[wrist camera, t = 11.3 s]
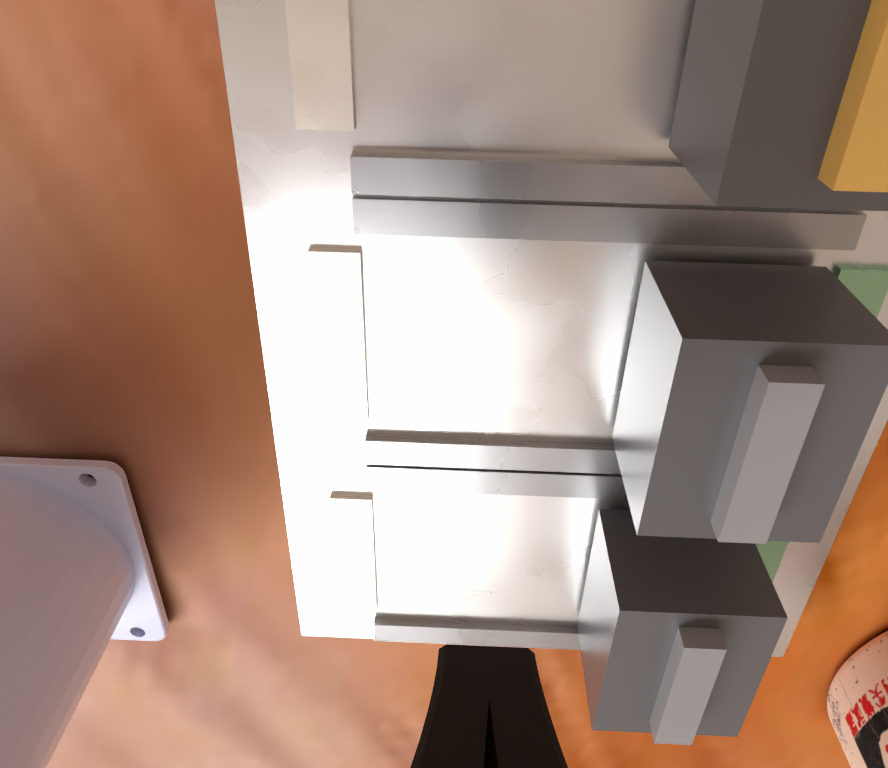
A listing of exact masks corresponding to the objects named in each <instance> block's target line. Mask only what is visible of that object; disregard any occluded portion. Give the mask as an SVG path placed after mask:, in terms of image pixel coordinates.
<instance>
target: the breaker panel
mask: <svg viewBox="0 0 888 768" xmlns="http://www.w3.org/2000/svg"><path fill="white" fill-rule="evenodd" d="M695 2H696V0H215V7H216V14H217V22H218V29H219V36H220V44H221V51H222V58H223V66H224V73H225V80H226V87H227V95H228V102H229V109H230V117H231V124H232V131H233V139H234V146H235V153H236V161H237V168H238V175H239V182H240V190H241V197H242V204H243V212H244V219H245V226H246V234H247V241H248V248H249V255H250V263H251V270H252V277H253V285H254V292H255V299H256V307H257V314H258V321H259V329H260V336H261V343H262V350H263V358H264V365H265V372H266V380H267V387H268V394H269V402H270V409H271V416H272V423H273V431H274V438H275V445H276V453H277V460H278V467H279V475H280V482H281V489H282V496H283V504H284V511H285V518H286V526H287V533H288V540H289V548H290V555H291V562H292V570H293V577H294V584H295V591H296V599H297V606H298V613H299V621H300V628H301V635H302V636H320V637H342V638H365V639H375V641H390V642H413V643H435V644H458V645H481V646H503V647H526V648H549V649H571V650H581V649H580V642H579V635H578V628H577V624H578V619H579V613H580V608H581V603H582V597H583V592H584V587H585V581H586V576H587V570H588V565H589V560H590V554H591V549H592V544H593V538H594V533H595V527H596V522H597V517H598V511H599V509H604V510H628V511H630V507H629V503H628V499H627V495H626V491H625V487H624V483H623V479H622V475H621V471H620V468H619V464H618V460H617V456H616V452H615V448H614V444H613V440H612V436H613V431H614V425H615V420H616V414H617V409H618V404H619V398H620V393H621V388H622V382H623V377H624V371H625V366H626V361H627V355H628V350H629V345H630V339H631V334H632V328H633V323H634V318H635V312H636V307H637V301H638V296H639V291H640V285H641V280H642V275H643V269H644V264H645V261H673V262H703V263H733V264H763V265H793V266H823V267H827V268H828V269H829V270H830V271H831V272H832V273H833V274H834V275H835V276H836V277H837V278H838V279H839V280H840V281H841V282H842V283H843V284H844V285H845V286H846V287H847V288H848V290H849V291H850V292H851V293H852V294H853V295H854V296H855V297H856V298H857V299H858V300H859V301H860V302H861V303H862V304H863V305H864V306H865V307H866V308H867V309H868V310H869V311H870V312H871V313H872V314H873V315H874V316H875V317H876V318H877V319H878V320H879V321H880V322H881V323H882V324H883V325H884V326H885V327H886V328H887V330H888V211H863V210H831V209H800V208H768V207H737V206H715V204H714V203H713V202H712V201H711V199H710V198H709V197H708V196H707V194H706V193H705V192H704V191H703V189H702V188H701V187H700V186H699V184H698V183H697V182H696V181H695V180H694V178H693V177H692V176H691V175H690V173H689V172H688V171H687V170H686V168H685V167H684V166H683V165H682V163H681V162H680V161H679V160H678V158H677V157H676V156H675V155H674V153H673V152H672V151H671V150H670V148H669V147H668V146H669V140H670V135H671V130H672V124H673V119H674V114H675V108H676V103H677V98H678V92H679V87H680V82H681V76H682V71H683V66H684V60H685V55H686V50H687V44H688V39H689V34H690V28H691V23H692V18H693V12H694V7H695ZM887 420H888V385H887V387H886V389H885V392H884V394H883V396H882V399H881V401H880V404H879V406H878V408H877V411H876V413H875V415H874V418H873V420H872V422H871V425H870V427H869V429H868V432H867V434H866V436H865V439H864V441H863V443H862V446H861V448H860V450H859V453H858V455H857V457H856V460H855V462H854V464H853V467H852V469H851V471H850V474H849V476H848V478H847V481H846V483H845V485H844V488H843V490H842V492H841V495H840V497H839V499H838V502H837V504H836V506H835V509H834V511H833V513H832V516H831V518H830V520H829V523H828V525H827V527H826V530H825V532H824V535H823V537H822V539H821V542H820V543H808V542H784V541H767V543H766V544H756V546H757V549H758V551H759V553H760V555H761V558H762V560H763V562H764V565H765V567H766V569H767V571H768V574H769V576H770V578H771V581H772V583H773V585H774V587H775V590H776V592H777V594H778V596H779V599H780V601H781V603H782V606H783V608H784V610H785V612H786V615H787V617H788V619H787V621H786V623H785V626H784V628H783V630H782V633H781V635H780V637H779V640H778V642H777V644H776V647H775V649H774V651H773V654H772V656H774V657H783V655H784V653H785V651H786V649H787V646H788V644H789V642H790V640H791V637H792V635H793V633H794V630H795V628H796V626H797V624H798V621H799V619H800V617H801V615H802V612H803V610H804V608H805V606H806V603H807V601H808V599H809V597H810V594H811V592H812V590H813V587H814V585H815V583H816V581H817V578H818V576H819V574H820V572H821V569H822V567H823V565H824V563H825V560H826V558H827V556H828V553H829V551H830V549H831V547H832V544H833V542H834V540H835V538H836V535H837V533H838V531H839V529H840V526H841V524H842V522H843V520H844V517H845V515H846V513H847V510H848V508H849V506H850V504H851V501H852V499H853V497H854V495H855V492H856V490H857V488H858V486H859V483H860V481H861V479H862V476H863V474H864V472H865V470H866V467H867V465H868V463H869V461H870V458H871V456H872V454H873V452H874V449H875V447H876V445H877V443H878V440H879V438H880V436H881V433H882V431H883V429H884V427H885V424H886V422H887Z"/></svg>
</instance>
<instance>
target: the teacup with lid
mask: <svg viewBox="0 0 888 768" xmlns="http://www.w3.org/2000/svg"><path fill="white" fill-rule="evenodd" d="M827 710H828V714H829V718H830V721H831V723H832V725H833V728H834V730H835V732H836V734H837V737H838V739H839V741H840V744H841V746H842V748H843V751H844V753H845V755H846V757H847V760H848V762H849V764H850V767H851V768H888V631H886V632H884V633H882V634H880V635H879V636H877V637H875V638H874V639H872V640H871V641H869V642H868V643H866V644H865V645H863V646H862V647H861V648H859V649H858V650H857V651H856V652H855V653H854V654H852V655H851V656H850V657H849V658H848V659H847V660H846V661H845V662H844V664H843V665H842V666H841V667H840V669H839V670H838V671H837V673H836V675H835V676H834V678H833V680H832V683H831V685H830V688H829V691H828V696H827Z"/></svg>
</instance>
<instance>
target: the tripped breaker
mask: <svg viewBox="0 0 888 768" xmlns="http://www.w3.org/2000/svg"><path fill="white" fill-rule="evenodd" d="M668 147H669V148H670V150H671V151H672V152H673V153H674V155H675V156H676V157H677V158H678V160H679V161H680V162H681V163H682V165H683V166H684V167H685V168H686V170H687V171H688V172H689V173H690V175H691V176H692V177H693V178H694V180H695V181H696V182H697V183H698V184H699V186H700V187H701V188H702V189H703V191H704V192H705V193H706V194H707V196H708V197H709V198H710V199H711V201H712V202H713V203H714V204H715V206H737V207H768V208H800V209H831V210H863V211H888V0H696V2H695V7H694V12H693V18H692V23H691V28H690V34H689V39H688V44H687V50H686V55H685V60H684V66H683V71H682V76H681V82H680V87H679V92H678V98H677V103H676V108H675V114H674V119H673V124H672V130H671V135H670V140H669V146H668Z"/></svg>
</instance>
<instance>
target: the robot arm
mask: <svg viewBox="0 0 888 768" xmlns="http://www.w3.org/2000/svg"><path fill="white" fill-rule="evenodd" d="M87 474H90V475H91V476H93V477H94V478H91V477H90V476H88V475H87ZM168 630H169V622H168V619H167V616H166V612H165V609H164V605H163V602H162V598H161V595H160V591H159V588H158V584H157V581H156V577H155V574H154V571H153V567H152V564H151V560H150V557H149V553H148V550H147V546H146V543H145V539H144V536H143V533H142V529H141V526H140V522H139V519H138V515H137V512H136V508H135V505H134V501H133V498H132V495H131V491H130V488H129V484H128V481H127V477H126V474H125V472H124V470H123V469H122V468H121V467H120V466H119V465H118V464H115V463H113V462H110V461H102V460H76V459H51V458H26V457H0V768H46V767H47V765H48V763H49V761H50V759H51V757H52V755H53V753H54V751H55V749H56V747H57V745H58V743H59V741H60V739H61V737H62V735H63V733H64V731H65V729H66V727H67V725H68V723H69V721H70V719H71V717H72V715H73V713H74V711H75V709H76V707H77V705H78V703H79V701H80V699H81V697H82V695H83V693H84V691H85V689H86V687H87V685H88V683H89V681H90V679H91V677H92V675H93V673H94V671H95V669H96V667H97V665H98V663H99V661H100V659H101V657H102V655H103V653H104V651H105V649H106V647H107V645H108V643H109V641H110V639H120V640H142V641H159V640H162V639H164V638H165V637H166V635H167V633H168ZM411 768H568V767H567V764H566V761H565V759H564V756H563V753H562V750H561V747H560V745H559V742H558V739H557V735H556V732H555V729H554V726H553V723H552V720H551V717H550V714H549V711H548V707H547V704H546V701H545V697H544V693H543V690H542V686H541V682H540V678H539V674H538V670H537V665H536V660H535V654H534V653H533V652H532V651H531V650H530V649H528V648H514V647H492V646H469V645H445V646H443V647H442V648H440V649H439V654H438V664H437V671H436V676H435V682H434V687H433V692H432V696H431V700H430V704H429V708H428V712H427V716H426V719H425V723H424V727H423V730H422V734H421V737H420V741H419V744H418V747H417V750H416V753H415V756H414V759H413V762H412V765H411Z"/></svg>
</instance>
